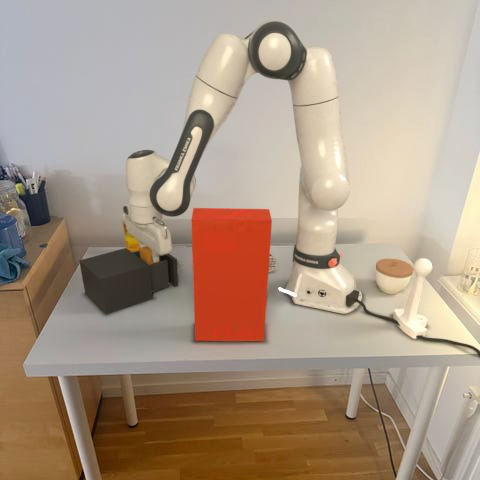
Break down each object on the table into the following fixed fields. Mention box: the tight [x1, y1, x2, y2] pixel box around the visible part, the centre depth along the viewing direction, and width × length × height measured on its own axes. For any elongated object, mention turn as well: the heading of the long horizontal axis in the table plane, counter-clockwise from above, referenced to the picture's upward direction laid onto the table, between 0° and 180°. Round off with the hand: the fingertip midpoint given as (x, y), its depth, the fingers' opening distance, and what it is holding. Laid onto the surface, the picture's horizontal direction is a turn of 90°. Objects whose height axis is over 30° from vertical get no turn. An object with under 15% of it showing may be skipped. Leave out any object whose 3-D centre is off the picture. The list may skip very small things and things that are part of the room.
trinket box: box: [374, 258, 414, 295], centre depth 139 cm, size 11×11×9 cm
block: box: [139, 246, 160, 265], centre depth 134 cm, size 4×4×4 cm
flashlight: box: [268, 253, 278, 273], centre depth 153 cm, size 15×5×5 cm, turn 25°
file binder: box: [190, 207, 273, 342], centre depth 111 cm, size 8×17×32 cm, turn 92°
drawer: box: [132, 250, 185, 293], centre depth 137 cm, size 17×13×9 cm
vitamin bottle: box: [121, 211, 140, 252], centre depth 153 cm, size 6×6×15 cm
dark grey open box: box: [78, 247, 153, 315], centre depth 131 cm, size 14×14×11 cm
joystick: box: [392, 257, 433, 339], centre depth 119 cm, size 11×8×20 cm
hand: (150, 257), depth 134 cm, fingers closed on block, 4 cm apart
